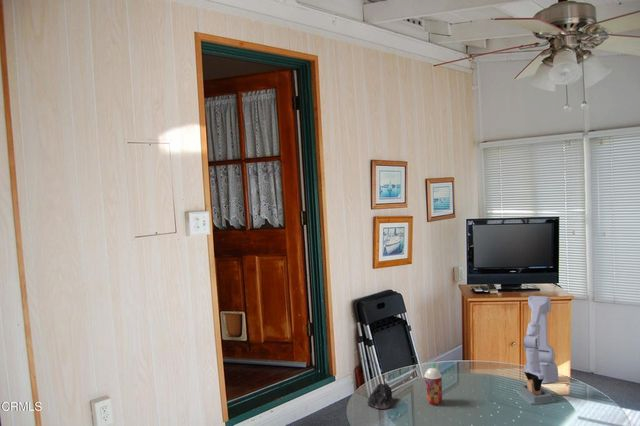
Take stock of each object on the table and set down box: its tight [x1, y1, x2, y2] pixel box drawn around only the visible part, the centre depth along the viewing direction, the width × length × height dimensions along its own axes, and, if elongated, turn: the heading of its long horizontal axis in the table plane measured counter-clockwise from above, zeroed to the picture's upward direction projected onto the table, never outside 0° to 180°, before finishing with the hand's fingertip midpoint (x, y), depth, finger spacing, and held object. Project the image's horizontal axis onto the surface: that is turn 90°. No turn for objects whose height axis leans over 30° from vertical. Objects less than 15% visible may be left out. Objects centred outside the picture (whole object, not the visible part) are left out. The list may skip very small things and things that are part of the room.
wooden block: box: [526, 379, 542, 395], centre depth 247 cm, size 4×4×6 cm
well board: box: [515, 383, 557, 406], centre depth 248 cm, size 12×15×3 cm
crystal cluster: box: [367, 382, 394, 410], centre depth 255 cm, size 13×14×10 cm
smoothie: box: [423, 362, 443, 406], centre depth 251 cm, size 8×8×20 cm
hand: (534, 388), depth 248 cm, fingers closed on wooden block, 4 cm apart
